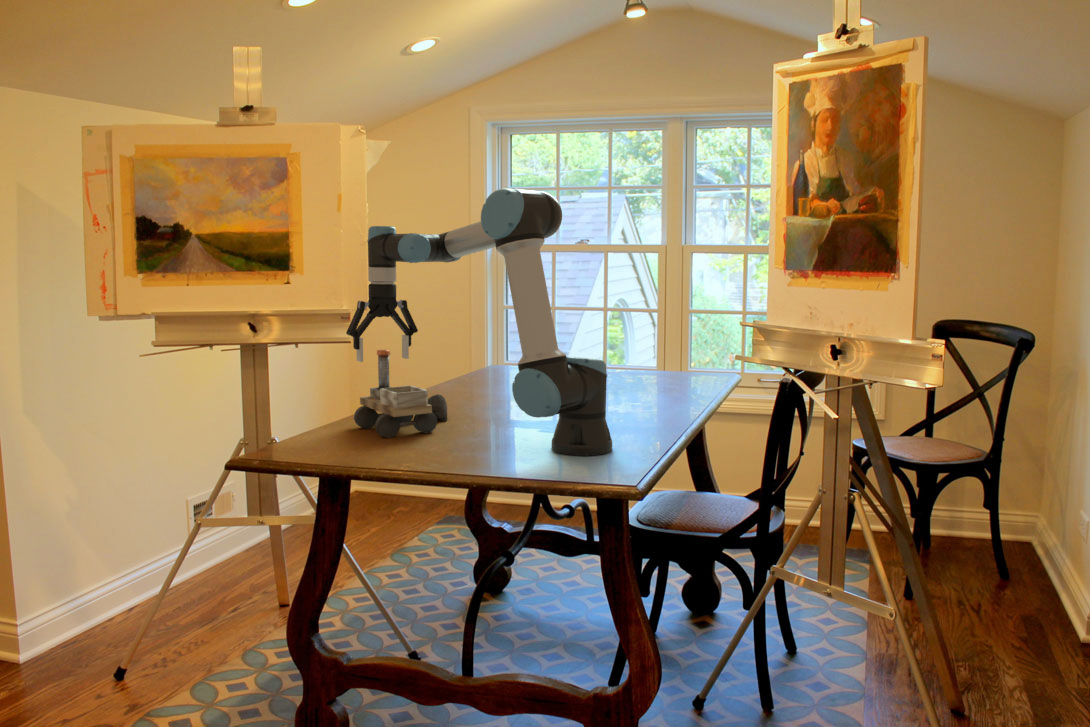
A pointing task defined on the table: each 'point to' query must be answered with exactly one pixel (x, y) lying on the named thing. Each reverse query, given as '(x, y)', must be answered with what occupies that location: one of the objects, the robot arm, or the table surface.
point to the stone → (438, 406)
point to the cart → (396, 410)
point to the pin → (383, 368)
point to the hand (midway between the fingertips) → (383, 359)
